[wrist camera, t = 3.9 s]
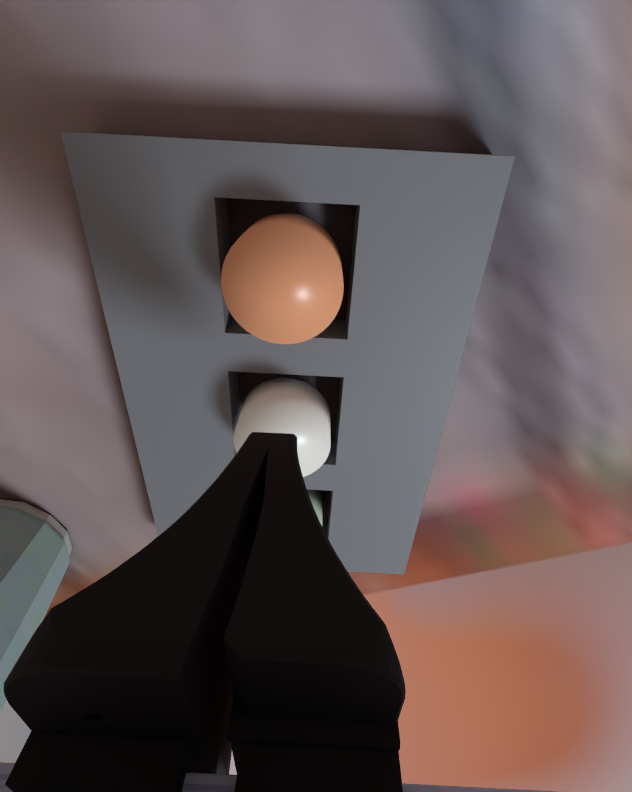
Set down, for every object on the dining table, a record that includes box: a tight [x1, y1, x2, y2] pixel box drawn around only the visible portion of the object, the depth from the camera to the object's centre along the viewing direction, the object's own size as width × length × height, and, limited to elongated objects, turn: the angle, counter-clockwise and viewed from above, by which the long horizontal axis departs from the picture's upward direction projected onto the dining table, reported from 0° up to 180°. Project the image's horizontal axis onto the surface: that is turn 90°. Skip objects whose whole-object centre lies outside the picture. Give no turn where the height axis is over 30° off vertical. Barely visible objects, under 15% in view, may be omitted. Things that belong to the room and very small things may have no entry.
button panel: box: [60, 132, 515, 574], centre depth 19 cm, size 14×21×2 cm, turn 177°
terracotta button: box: [221, 213, 344, 344], centre depth 14 cm, size 4×4×2 cm
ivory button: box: [233, 378, 331, 477], centre depth 18 cm, size 4×4×2 cm
